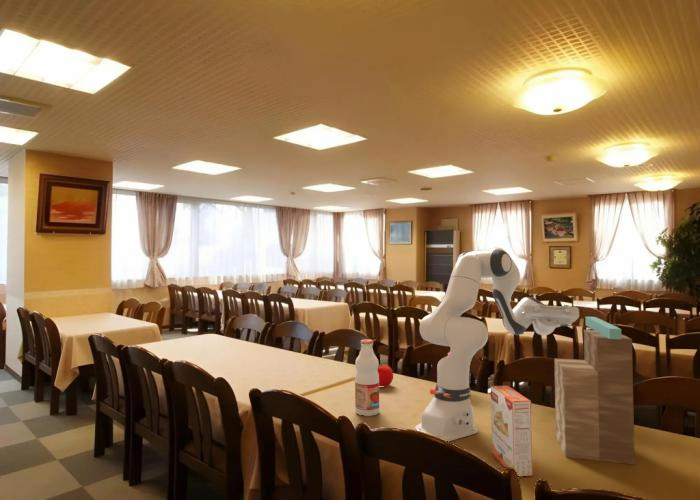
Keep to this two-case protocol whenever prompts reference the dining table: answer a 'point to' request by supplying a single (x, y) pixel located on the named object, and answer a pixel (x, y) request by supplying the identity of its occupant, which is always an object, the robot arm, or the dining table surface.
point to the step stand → (596, 401)
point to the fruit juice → (367, 381)
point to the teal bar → (603, 328)
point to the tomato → (385, 375)
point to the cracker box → (511, 429)
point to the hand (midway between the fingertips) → (553, 306)
